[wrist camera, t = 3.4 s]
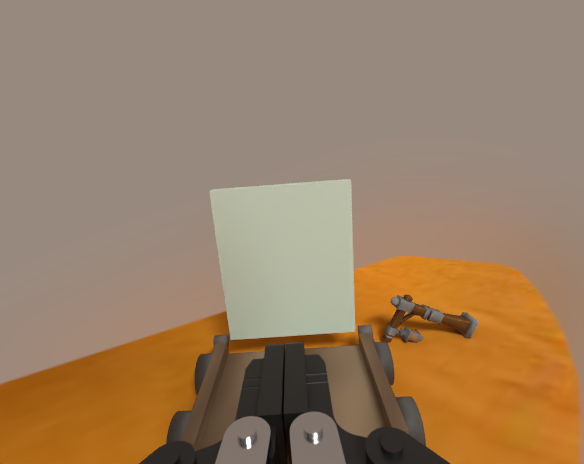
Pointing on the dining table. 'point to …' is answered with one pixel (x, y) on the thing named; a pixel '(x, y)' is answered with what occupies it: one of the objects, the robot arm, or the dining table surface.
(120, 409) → the dining table surface
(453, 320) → the wooden post with brackets
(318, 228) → the panel
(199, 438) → the flatbed
